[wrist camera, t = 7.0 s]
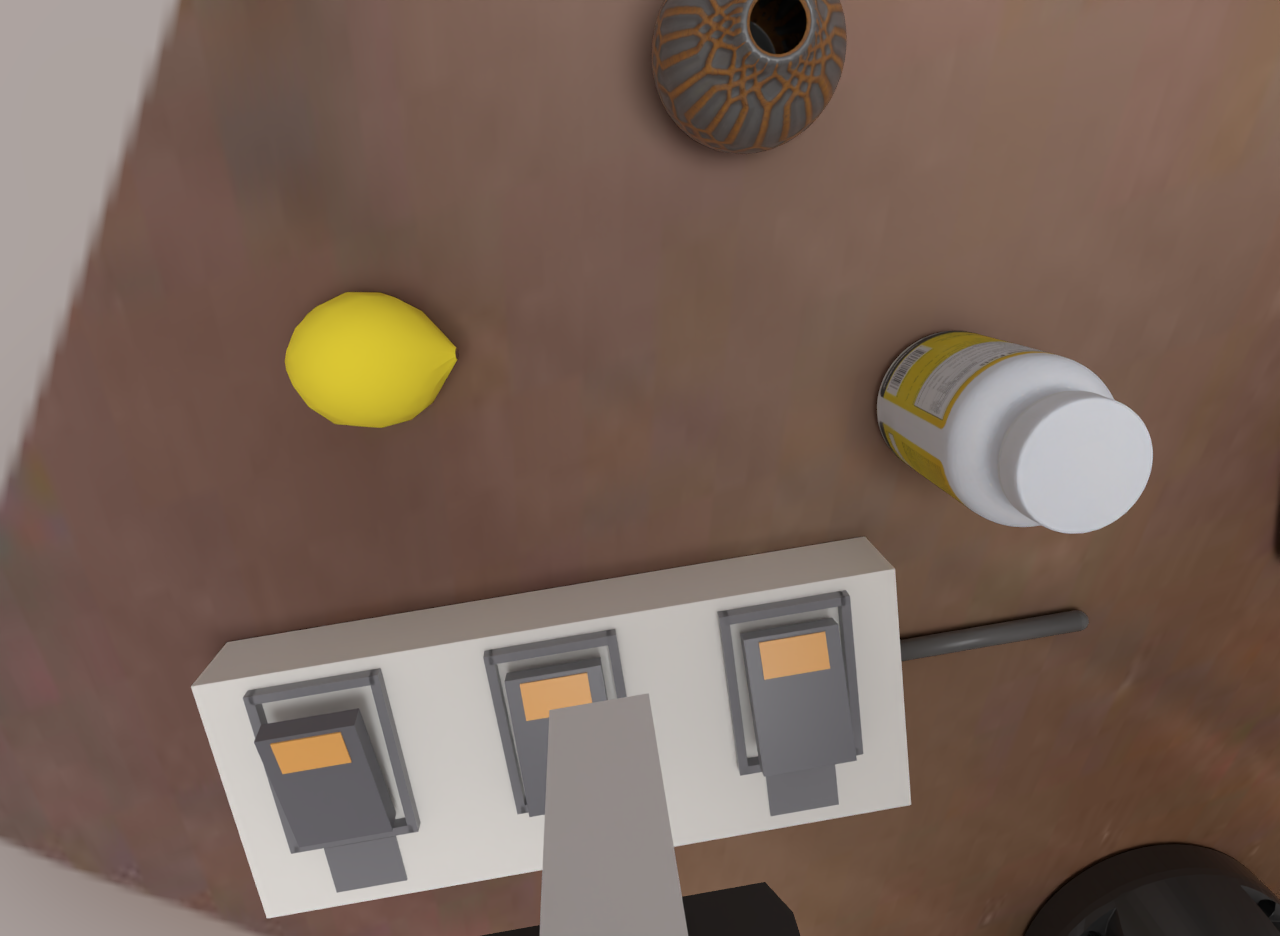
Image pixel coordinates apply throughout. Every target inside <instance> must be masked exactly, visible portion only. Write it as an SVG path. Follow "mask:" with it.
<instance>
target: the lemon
mask: <svg viewBox="0 0 1280 936" xmlns="http://www.w3.org/2000/svg"><path fill="white" fill-rule="evenodd" d="M457 359H458V350H457V348H456V347H455V346H454V345H453V344H452V342H451V341H450V340H449V339H448V338H447V337H446V336H445V335H444V334H443V333H442V332H441V330H440V329H439V328H438V327H437V326H436V325H435V324H434V323H433V322H432V321H431V320H430V319H429V318H428V317H427V316H426V315H425V314H424V313H423V312H422V311H421V310H419V309H417V308H415V307H413V306H411V305H409V304H407V303H405V302H403V301H401V300H399V299H397V298H395V297H392V296H389V295H386V294H383V293H379V292H346V293H344V294H342V295H339V296H337V297H335V298H333V299H331V300H329V301H327V302H325V303H323V304H321V305H319V306H317V307H316V308H314V309H313V310H312V311H311V312H309V313H308V314H307V315H306V316H305V318H304V319H303V321H302V322H301V323H300V324H299V325H298V326H297V327H296V328H295V330H294V332H293V335H292V337H291V340H290V343H289V345H288V348H287V351H286V357H285V365H286V371H287V373H288V375H289V378H290V380H291V383H292V385H293V386H294V388H295V389H296V391H297V392H298V393H299V395H300V396H301V397H302V399H303V400H304V401H305V403H306V404H307V405H308V407H310V408H311V409H313V410H314V411H316V412H317V413H319V414H320V415H322V416H324V417H325V418H327V419H328V420H330V421H331V422H333V423H334V424H340V425H351V426H362V427H378V428H383V427H386V426H390V425H394V424H398V423H401V422H405V421H409V420H412V419H413V418H414V417H415V416H417V415H418V414H419V413H420V412H422V411H423V410H424V409H425V408H427V407H428V406H429V405H430V404H432V403H433V402H434V400H435V398H436V396H437V395H438V393H439V391H440V389H441V388H442V386H443V384H444V382H445V380H446V379H447V377H448V375H449V373H450V372H451V370H452V368H453V366H454V365H455V363H456V361H457Z"/></svg>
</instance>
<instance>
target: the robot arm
mask: <svg viewBox="0 0 1280 936" xmlns="http://www.w3.org/2000/svg"><path fill="white" fill-rule="evenodd" d="M482 936H800V933H799V930H798V927H797V924H796V921H795V917H794V914H793V912H792V911H791V910H790V909H789V908H788V907H787V905H786V904H785V903H784V902H783V901H782V900H781V899H780V898H779V897H778V896H777V895H776V894H775V892H774V891H773V890H772V889H771V888H770V887H769V886H768V885H767V884H766V883H765V882H763V883H757V884H751V885H746V886H740V887H735V888H729V889H723V890H718V891H712V892H707V893H701V894H695V895H690V896H684V897H682V894H681V888H680V882H679V876H678V870H677V864H676V858H675V852H674V845H673V839H672V833H671V827H670V821H669V815H668V809H667V803H666V797H665V790H664V784H663V778H662V772H661V766H660V760H659V754H658V748H657V741H656V735H655V729H654V723H653V717H652V711H651V705H650V699H649V693H647V694H641V695H635V696H630V697H624V698H618V699H612V700H606V701H600V702H594V703H589V704H583V705H577V706H571V707H565V708H559V709H553V710H549V733H548V755H547V778H546V801H545V823H544V846H543V869H542V891H541V914H540V925H538V926H533V927H527V928H521V929H516V930H510V931H505V932H499V933H493V934H488V935H482ZM1025 936H1280V900H1279V899H1278V898H1277V897H1276V896H1275V895H1274V894H1273V893H1272V892H1271V891H1270V890H1269V889H1268V888H1267V887H1266V886H1265V885H1264V884H1263V883H1262V882H1261V881H1260V880H1259V879H1258V878H1257V877H1256V876H1255V875H1254V874H1253V873H1252V872H1251V871H1249V870H1248V869H1247V868H1246V867H1245V866H1244V865H1242V864H1241V863H1239V862H1238V861H1236V860H1235V859H1233V858H1231V857H1229V856H1227V855H1225V854H1223V853H1220V852H1218V851H1215V850H1212V849H1208V848H1204V847H1199V846H1193V845H1181V844H1167V845H1156V846H1149V847H1144V848H1139V849H1135V850H1131V851H1128V852H1125V853H1122V854H1119V855H1116V856H1114V857H1111V858H1109V859H1106V860H1104V861H1102V862H1100V863H1098V864H1096V865H1094V866H1092V867H1091V868H1089V869H1087V870H1086V871H1084V872H1082V873H1081V874H1079V875H1078V876H1076V877H1075V878H1074V879H1072V880H1071V881H1070V882H1068V883H1067V884H1066V885H1065V886H1063V887H1062V888H1061V889H1060V890H1059V891H1058V892H1057V893H1056V894H1055V895H1054V896H1053V897H1052V898H1051V899H1050V900H1049V901H1048V902H1047V903H1046V904H1045V905H1044V907H1043V908H1042V909H1041V910H1040V912H1039V913H1038V914H1037V916H1036V917H1035V919H1034V920H1033V922H1032V923H1031V925H1030V927H1029V928H1028V930H1027V932H1026V934H1025Z"/></svg>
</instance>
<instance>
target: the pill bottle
mask: <svg viewBox="0 0 1280 936" xmlns="http://www.w3.org/2000/svg"><path fill="white" fill-rule="evenodd" d="M877 417H878V423H879V427H880V430H881V433H882V435H883V438H884V440H885V441H886V443H887V445H888V446H889V447H890V449H891V450H892V451H893V453H894V454H895V455H896V456H897V457H898V458H900V459H901V460H902V461H903V462H904V463H906V464H907V465H909V466H910V467H912V468H913V469H914V470H916V471H917V472H918V473H920V474H921V475H923V476H924V477H925V478H927V479H928V480H930V481H931V482H932V483H934V484H935V485H937V486H938V487H939V488H941V489H942V490H944V491H945V492H946V493H948V494H949V495H951V496H952V497H953V498H955V499H956V500H958V501H959V502H961V503H962V504H963V505H965V506H966V507H968V508H969V509H970V510H972V511H973V512H975V513H977V514H978V515H980V516H982V517H984V518H986V519H988V520H990V521H993V522H995V523H999V524H1002V525H1007V526H1013V527H1033V526H1039V525H1042V526H1044V527H1046V528H1048V529H1050V530H1053V531H1057V532H1061V533H1068V534H1073V533H1086V532H1091V531H1094V530H1098V529H1100V528H1103V527H1105V526H1107V525H1109V524H1111V523H1112V522H1114V521H1116V520H1117V519H1119V518H1120V517H1121V516H1122V515H1124V514H1125V513H1126V512H1127V511H1128V510H1129V509H1130V508H1131V507H1132V506H1133V505H1134V503H1135V502H1136V501H1137V500H1138V498H1139V497H1140V495H1141V493H1142V492H1143V490H1144V489H1145V486H1146V484H1147V482H1148V479H1149V476H1150V472H1151V467H1152V461H1153V448H1152V443H1151V438H1150V435H1149V432H1148V430H1147V428H1146V426H1145V424H1144V423H1143V421H1142V420H1141V418H1140V417H1139V416H1138V415H1137V414H1136V413H1135V412H1134V411H1133V410H1131V409H1130V408H1129V407H1127V406H1126V405H1124V404H1122V403H1120V402H1118V401H1116V400H1114V398H1113V397H1112V395H1111V393H1110V391H1109V390H1108V388H1107V387H1106V385H1105V384H1104V383H1103V382H1102V380H1101V379H1100V378H1099V377H1098V376H1097V375H1096V374H1094V373H1093V372H1092V371H1091V370H1089V369H1088V368H1087V367H1085V366H1083V365H1082V364H1080V363H1078V362H1076V361H1074V360H1071V359H1068V358H1065V357H1062V356H1059V355H1055V354H1052V353H1048V352H1044V351H1041V350H1037V349H1033V348H1029V347H1025V346H1022V345H1018V344H1014V343H1010V342H1006V341H1002V340H998V339H994V338H991V337H987V336H983V335H979V334H975V333H970V332H964V331H946V332H940V333H936V334H933V335H930V336H927V337H925V338H922V339H920V340H919V341H917V342H915V343H914V344H912V345H911V346H909V347H908V348H907V349H905V350H904V351H903V352H902V353H901V354H900V355H899V356H898V357H897V358H896V360H895V361H894V362H893V363H892V365H891V366H890V368H889V369H888V371H887V373H886V374H885V376H884V378H883V381H882V383H881V386H880V390H879V394H878V400H877Z"/></svg>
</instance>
